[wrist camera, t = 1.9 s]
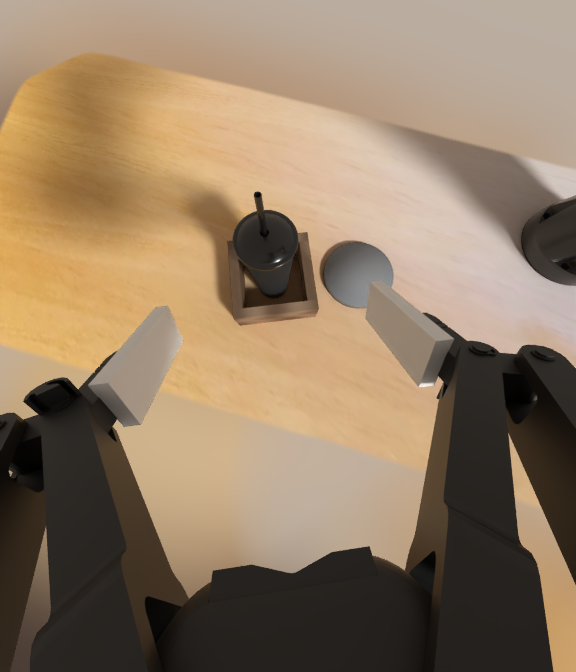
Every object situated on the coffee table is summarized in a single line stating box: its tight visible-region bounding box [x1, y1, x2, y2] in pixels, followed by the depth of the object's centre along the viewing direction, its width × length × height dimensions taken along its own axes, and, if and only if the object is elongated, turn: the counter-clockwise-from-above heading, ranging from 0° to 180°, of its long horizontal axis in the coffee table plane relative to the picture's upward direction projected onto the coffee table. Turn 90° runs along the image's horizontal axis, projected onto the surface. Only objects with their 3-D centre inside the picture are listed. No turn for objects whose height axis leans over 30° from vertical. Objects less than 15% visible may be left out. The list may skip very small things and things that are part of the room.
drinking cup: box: [233, 192, 298, 298], centre depth 29 cm, size 8×8×20 cm
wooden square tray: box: [227, 232, 319, 325], centre depth 37 cm, size 13×13×4 cm
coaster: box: [324, 242, 393, 308], centre depth 39 cm, size 12×12×1 cm
